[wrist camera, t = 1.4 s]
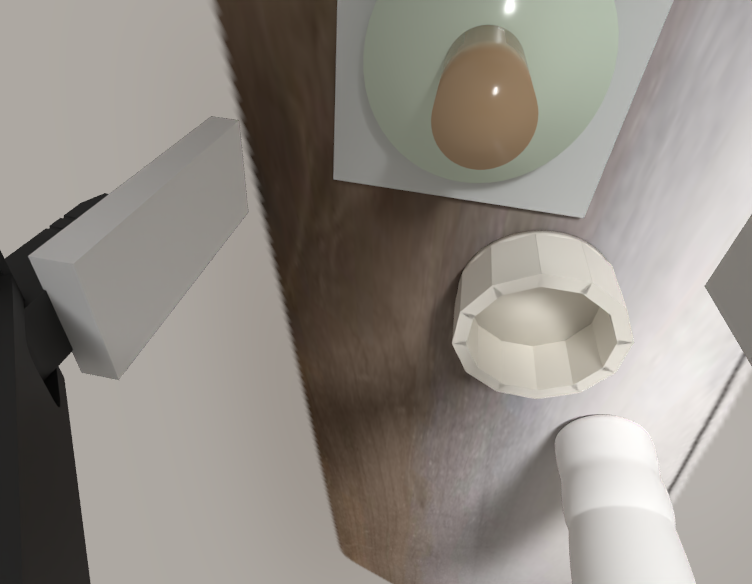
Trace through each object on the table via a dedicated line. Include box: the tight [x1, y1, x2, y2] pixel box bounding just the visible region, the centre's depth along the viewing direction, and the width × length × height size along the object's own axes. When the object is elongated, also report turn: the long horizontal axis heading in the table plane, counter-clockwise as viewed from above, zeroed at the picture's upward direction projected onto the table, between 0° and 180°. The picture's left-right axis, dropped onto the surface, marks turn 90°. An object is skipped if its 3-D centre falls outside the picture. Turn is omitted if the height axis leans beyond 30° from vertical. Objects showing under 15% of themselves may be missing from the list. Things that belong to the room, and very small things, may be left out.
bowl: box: [452, 230, 634, 399], centre depth 29 cm, size 9×9×4 cm
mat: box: [333, 0, 674, 218], centre depth 22 cm, size 14×14×1 cm
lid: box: [363, 0, 619, 183], centre depth 19 cm, size 11×11×8 cm
